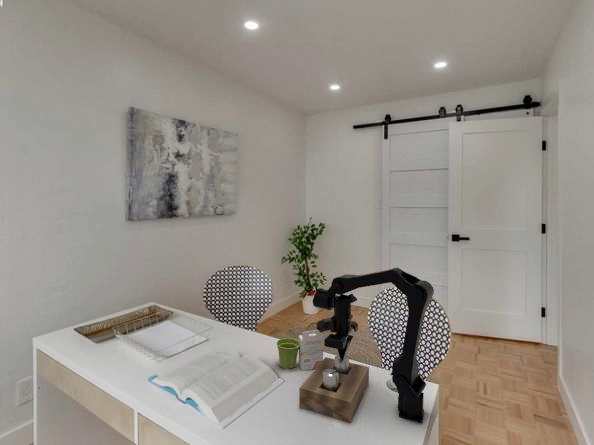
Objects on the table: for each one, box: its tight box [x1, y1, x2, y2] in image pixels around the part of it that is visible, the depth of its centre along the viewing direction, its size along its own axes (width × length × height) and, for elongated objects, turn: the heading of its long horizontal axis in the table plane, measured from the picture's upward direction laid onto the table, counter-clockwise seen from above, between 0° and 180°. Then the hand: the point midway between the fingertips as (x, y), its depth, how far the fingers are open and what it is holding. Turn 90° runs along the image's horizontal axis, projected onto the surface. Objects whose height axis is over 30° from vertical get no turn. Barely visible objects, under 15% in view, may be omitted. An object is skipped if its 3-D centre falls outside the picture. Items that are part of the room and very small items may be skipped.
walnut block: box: [298, 356, 370, 424], centre depth 102 cm, size 16×22×6 cm
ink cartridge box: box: [298, 329, 324, 372], centre depth 120 cm, size 9×5×15 cm, turn 106°
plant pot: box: [275, 337, 300, 370], centre depth 121 cm, size 9×9×9 cm
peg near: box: [323, 369, 339, 392], centre depth 97 cm, size 5×5×6 cm
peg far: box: [334, 354, 350, 375], centre depth 107 cm, size 5×5×6 cm
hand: (341, 358), depth 107 cm, fingers closed, pressing on peg far
